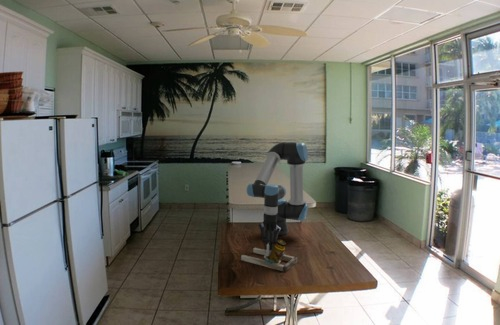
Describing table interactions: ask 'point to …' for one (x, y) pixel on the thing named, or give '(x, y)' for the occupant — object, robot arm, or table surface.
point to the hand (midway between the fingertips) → (268, 255)
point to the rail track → (270, 263)
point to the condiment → (277, 251)
